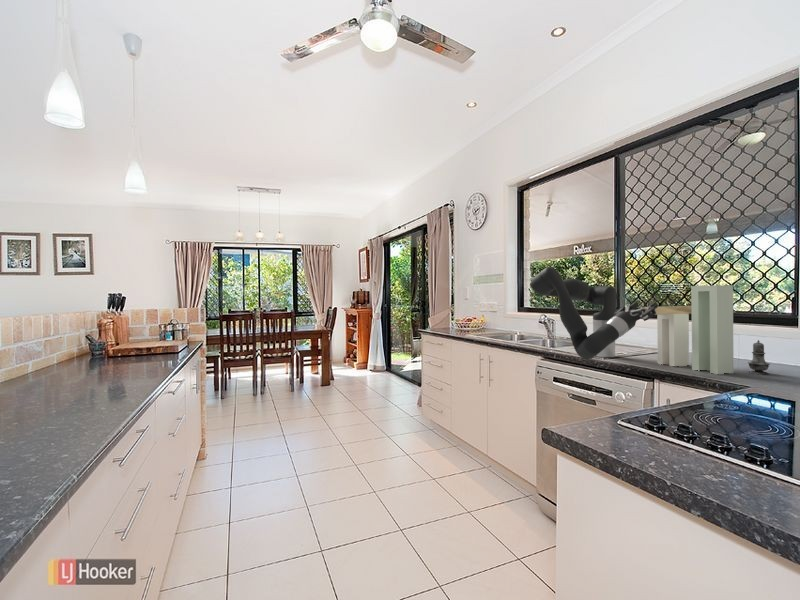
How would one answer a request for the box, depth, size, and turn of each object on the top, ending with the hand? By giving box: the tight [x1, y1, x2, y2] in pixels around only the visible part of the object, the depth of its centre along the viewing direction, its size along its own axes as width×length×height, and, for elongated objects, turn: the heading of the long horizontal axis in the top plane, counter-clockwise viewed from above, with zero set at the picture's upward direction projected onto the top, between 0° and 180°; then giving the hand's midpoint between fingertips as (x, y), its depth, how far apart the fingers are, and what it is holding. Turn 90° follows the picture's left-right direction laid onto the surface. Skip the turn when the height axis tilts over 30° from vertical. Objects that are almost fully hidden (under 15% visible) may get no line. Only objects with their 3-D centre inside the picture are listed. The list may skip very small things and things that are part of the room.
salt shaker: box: [747, 339, 771, 376], centre depth 137 cm, size 6×6×12 cm
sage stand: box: [690, 284, 735, 375], centre depth 141 cm, size 9×8×32 cm
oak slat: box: [641, 305, 692, 316], centre depth 155 cm, size 4×28×3 cm, turn 106°
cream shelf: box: [656, 314, 690, 367], centre depth 155 cm, size 7×8×21 cm
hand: (646, 303), depth 151 cm, fingers open, 8 cm apart
